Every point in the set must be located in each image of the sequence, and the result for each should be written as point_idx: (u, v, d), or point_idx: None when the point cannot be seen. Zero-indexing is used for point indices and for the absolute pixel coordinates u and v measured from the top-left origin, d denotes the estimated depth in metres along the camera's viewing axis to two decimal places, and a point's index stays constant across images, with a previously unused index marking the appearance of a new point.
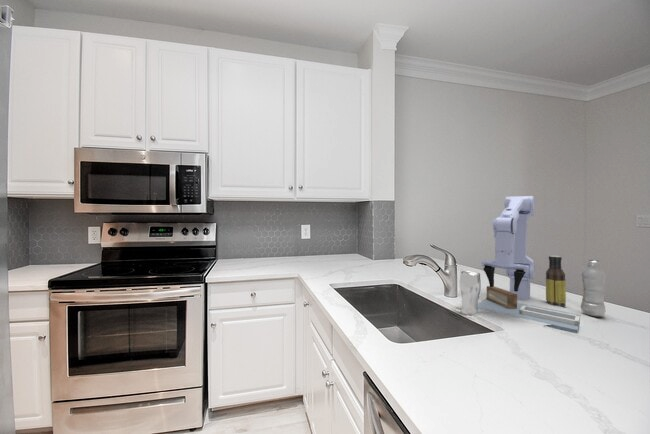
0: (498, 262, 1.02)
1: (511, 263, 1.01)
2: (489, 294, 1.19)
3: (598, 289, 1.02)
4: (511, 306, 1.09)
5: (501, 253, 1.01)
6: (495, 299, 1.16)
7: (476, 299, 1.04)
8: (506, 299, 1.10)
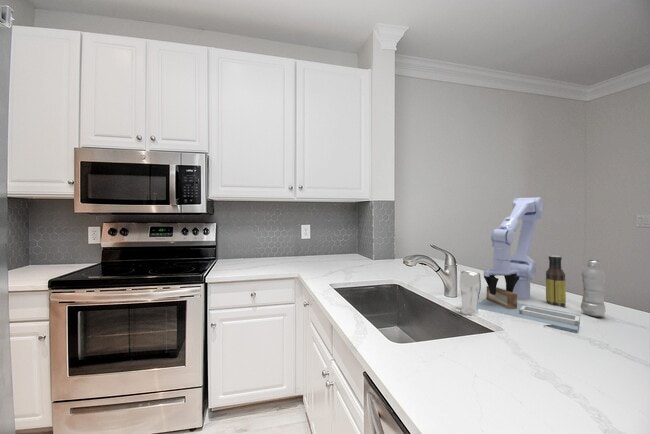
0: None
1: (493, 269, 1.15)
2: (489, 294, 1.19)
3: (598, 289, 1.02)
4: (511, 306, 1.09)
5: None
6: (495, 299, 1.16)
7: (476, 299, 1.04)
8: (506, 299, 1.10)
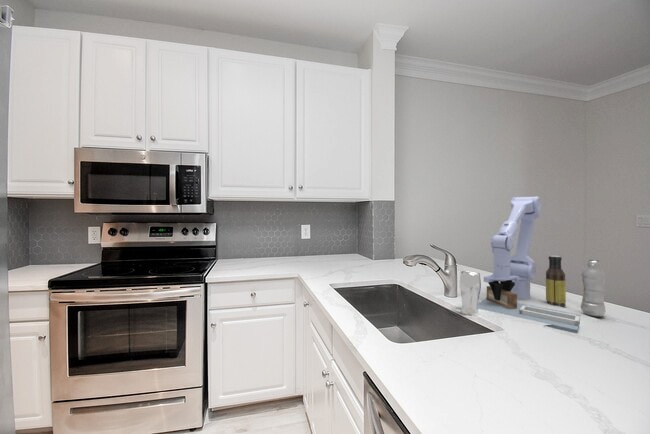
0: None
1: (493, 275, 1.15)
2: (489, 294, 1.19)
3: (598, 289, 1.02)
4: (511, 306, 1.09)
5: None
6: None
7: (476, 299, 1.04)
8: (506, 299, 1.10)
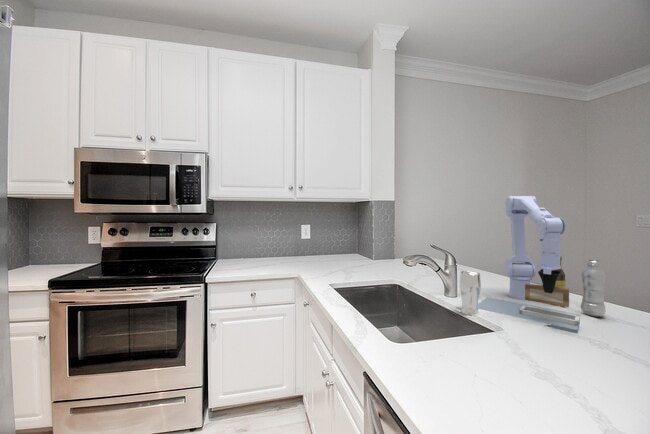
0: None
1: (544, 264, 0.99)
2: (530, 294, 1.03)
3: (598, 289, 1.02)
4: (568, 304, 0.97)
5: None
6: (541, 298, 1.01)
7: (476, 299, 1.04)
8: (561, 296, 0.97)
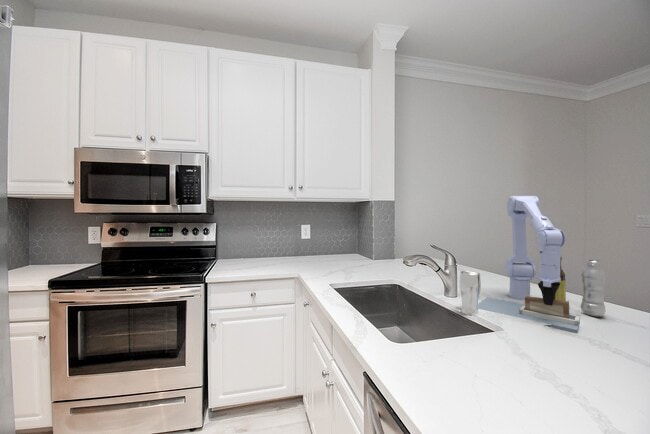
0: None
1: (544, 276, 0.99)
2: (530, 307, 1.03)
3: (598, 289, 1.02)
4: (569, 317, 0.96)
5: None
6: (542, 311, 1.01)
7: (476, 299, 1.04)
8: (561, 309, 0.97)
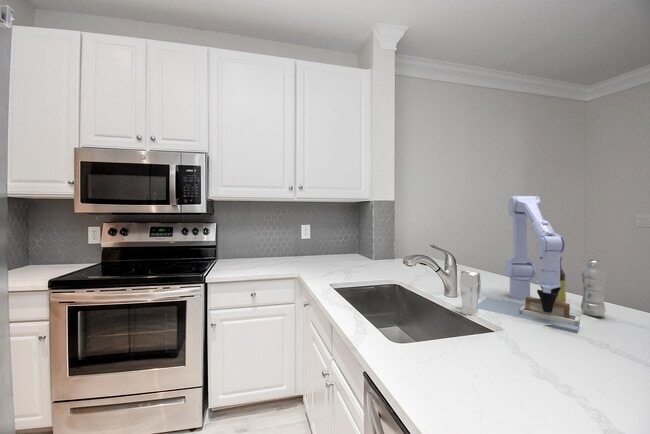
0: None
1: (544, 282, 0.99)
2: (530, 307, 1.03)
3: (598, 289, 1.02)
4: None
5: (539, 270, 1.02)
6: (542, 312, 1.01)
7: (476, 299, 1.04)
8: (562, 311, 0.97)
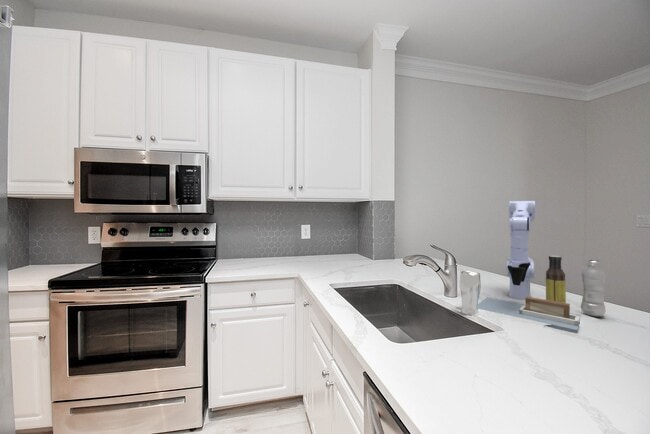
0: None
1: (514, 258, 1.11)
2: (530, 307, 1.03)
3: (598, 289, 1.02)
4: None
5: None
6: (542, 312, 1.01)
7: (476, 299, 1.04)
8: (562, 311, 0.97)
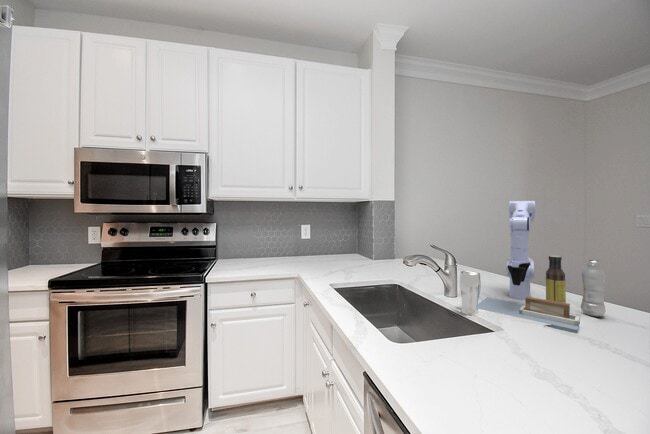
0: None
1: (514, 258, 1.11)
2: (530, 307, 1.03)
3: (598, 289, 1.02)
4: None
5: None
6: (542, 312, 1.01)
7: (476, 299, 1.04)
8: (562, 311, 0.97)
